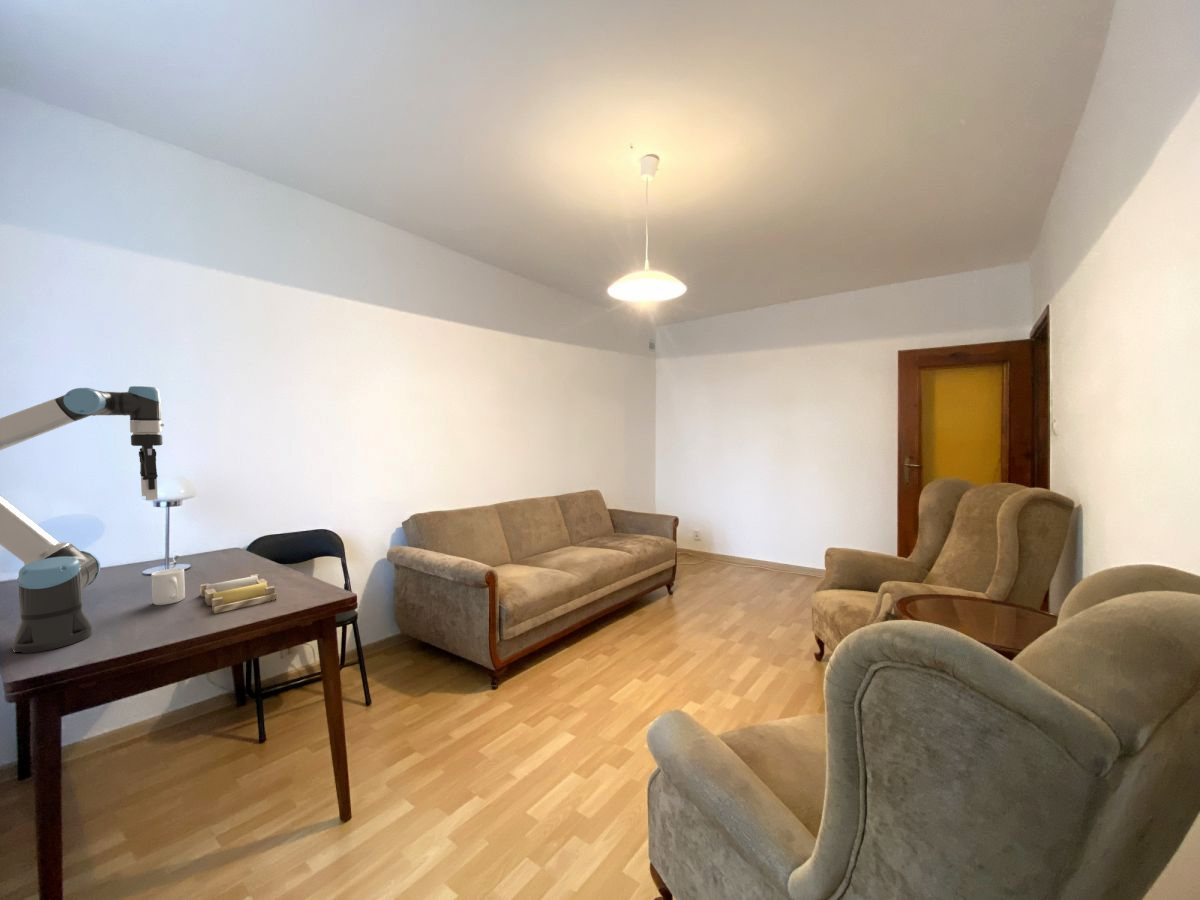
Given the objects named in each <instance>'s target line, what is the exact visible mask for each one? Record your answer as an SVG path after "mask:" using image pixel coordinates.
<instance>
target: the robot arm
mask: <svg viewBox="0 0 1200 900" xmlns="http://www.w3.org/2000/svg"><path fill="white" fill-rule="evenodd" d="M91 416H92V417H93V416H129V431H130V433H132V434H131V435H130V445H131V446H133V447H140V448H139V451H138V457H139V462H140V467H139V469H140V471H139V474H140V486H141V497H145V501H153V500H155V501H156V500H159V499H158V498H159V497H158V472H157V471H158V470H157V451H156V448H154V446H158V447H159V446H162V445H163V435H162V434H160V433H162V432H163V427H165V424H164V423H162V400H161V393H160V389H159V388H157V387H154V386H138V385H137V386H136V385H133V386H129V387H128V390H127V391H123V392H119V391H101V390H98V389H97V390H96V389H94V388H90V387H77V388H73V389H71V390H68V392H66V393H65V394H63V395H61V396H59V397H56V398H53V399H50V400H47V401H44V402H42V403H38V404H36V405H33V406H30V407H27V408H25V409H22V410H19V411H16V412H14V413H11V414H7V415H5V416H3V417H0V451H2V450H4V449H7V448H10V447H13V446H15V445H18V444H20V443H23V442H25V441H27V440H30V439H33V438H36V437H39V436H41V435H43V434H46V433H48V432H51V431H54V430H56V429H59V428H62V427H63V426H64V427H65V426H66V425H69V424H72V423H75V422H77V421H79V420H80V421H81V420H83V419H86V418H88V417H91ZM0 546H2V547H3V548H4V549H5V550H7V551H8V552H10V553H11V554H12V555H13V556H15V557H16V558H17V559H18V560H20V561H22V562H23V564H24V565H23V566H22V567H21V568H20V569H19V571H18V577H17V584H18V595H19V597H18V599H19V609H20V610H19V611H20V623H19V626H18V628H17V630H16V633H15V636H14V638H13V640H12V642H11V644H12V645H11V647H12V649H13V650H14V651H15V652H22V653H21V654H31V653H32V654H33V653H37V652H38V653H39V652H44V651H45V652H46V651H49V650H54V649H58V648H62V647H67V646H70V645H73V644H76V643H79V642H82V641H83V640H85V639H87V638H89V637H90V636H91V635H93V626H92V624H91V622H90V621H89V618H88V617H87V615H86V613H85V612H84V610H83V598H82V597H83V595H82V590H83V589H85V588H87V587H88V586H90V585H91V584H92V583H93V582H94V581H95V580H96V579H97V577H98V576H99V574H100V571H101V563H100V560H99V558H98V557H97V556H96V555H94V554H93V553H91V552H89V551H84V550H80V549H78V548H77V547H76V546H74V545H73V544H72V543H71V542H60V541H58V540H57V539H56V538H54V537H53V536H52V535H50V533H48V532H47V531H45V530H44V529H43V528H42V527H41V526H39V525H38V524H37V523H36V522H34V521H33V520H32V519H30V517H28V516H27V515H25V514H24V513H23V512H22V511H20V510H19V509H18V508H17V507H16V506H14V505H12V503H10V502H9V501H8V500H7V499H5V498H4V497H2V496H1V495H0ZM12 649H11V650H12ZM15 652H14V653H15Z"/></svg>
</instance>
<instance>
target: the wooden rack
mask: <svg viewBox="0 0 1200 900" xmlns="http://www.w3.org/2000/svg"><path fill="white" fill-rule="evenodd" d="M252 576H258V579H259V580H255V581H256V584H261V583H265V582H266V583H267V585H268V587H266V588H265V596H262V597H257V598H253V599H248V600H243V601H239V602H234V603H230V604H225V605H223V598H222V597H218V598H213V596H214V593H217V592H216V591H215V589H214V588H213V589H208V590H206V586H207V585H209V584H210V583H204V584H199V585H200V588H199V593H200V597H202V598H204V601H205V603H206V605H207V606H208V607H210V606H211V609H212V610H211V611H212V613H214V614H215V615H216V614H218V613H219V614H220V613H223V612H228V611H232V610H236V609H242V608H246V607H250V606H254V605H260V604H262V603H263V604H264V603H267V602H268V603H269V602H271V600H272V601H276V600H275V599H277V597H278V596H277V593H276V587H275V586H274V585H271V586H269V581H268V580H266V579H264V578H260V575H259V574H257V573H256V574H251V575H249V577H252Z"/></svg>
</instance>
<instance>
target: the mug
mask: <svg viewBox="0 0 1200 900" xmlns="http://www.w3.org/2000/svg"><path fill="white" fill-rule="evenodd" d="M150 575H151V576H150V577H151V592H152V595H151V596H152V604H153V605H156V606H164V605H169V604H170V605H171V604H175V603H179V602H180V601H183V600H184V599H185V597H186V586H185V585H186V583H185V581H186V580H185V569H184V568H182V567H181V568H180V567H179V568H177V567H175V568H174V567H173V568H166V569H162V570H157V571H154V572H152V573H151V574H150Z"/></svg>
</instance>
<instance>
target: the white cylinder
mask: <svg viewBox="0 0 1200 900" xmlns="http://www.w3.org/2000/svg"><path fill="white" fill-rule="evenodd" d="M259 579H260V578H259ZM259 579H258V576H252V577H250V576H247V577H243V578H242V577H241V578H237V579H231V580H227V581H221V582H216V583H211V584H210V583H209V585H207V586H206V590H208V589H213V588H214V589H215V591H216V592H221V591H226V590H231V589H236V588H241V587H246V586H251V585H256V581H255V580H259Z"/></svg>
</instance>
